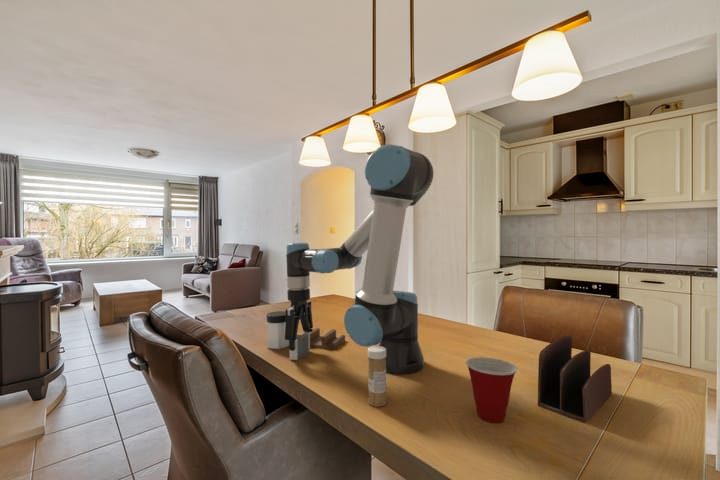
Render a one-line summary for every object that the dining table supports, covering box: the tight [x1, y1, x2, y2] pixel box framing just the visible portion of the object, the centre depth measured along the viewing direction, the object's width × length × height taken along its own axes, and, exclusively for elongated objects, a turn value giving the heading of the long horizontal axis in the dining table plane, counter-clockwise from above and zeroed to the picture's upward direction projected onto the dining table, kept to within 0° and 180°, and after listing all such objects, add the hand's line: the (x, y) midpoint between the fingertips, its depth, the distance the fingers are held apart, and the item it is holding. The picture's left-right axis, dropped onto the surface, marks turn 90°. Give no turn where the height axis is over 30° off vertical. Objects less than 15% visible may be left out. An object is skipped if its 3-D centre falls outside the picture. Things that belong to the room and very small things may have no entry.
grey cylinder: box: [296, 331, 309, 359], centre depth 115 cm, size 4×4×8 cm
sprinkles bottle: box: [367, 345, 387, 407], centre depth 82 cm, size 5×5×13 cm
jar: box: [266, 310, 289, 350], centre depth 126 cm, size 9×8×12 cm
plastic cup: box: [465, 356, 518, 424], centre depth 76 cm, size 11×11×12 cm
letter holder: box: [537, 334, 613, 424], centre depth 82 cm, size 10×20×14 cm, turn 130°
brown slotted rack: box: [310, 327, 346, 350], centre depth 128 cm, size 16×10×4 cm, turn 71°
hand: (300, 354), depth 115 cm, fingers open, 8 cm apart
